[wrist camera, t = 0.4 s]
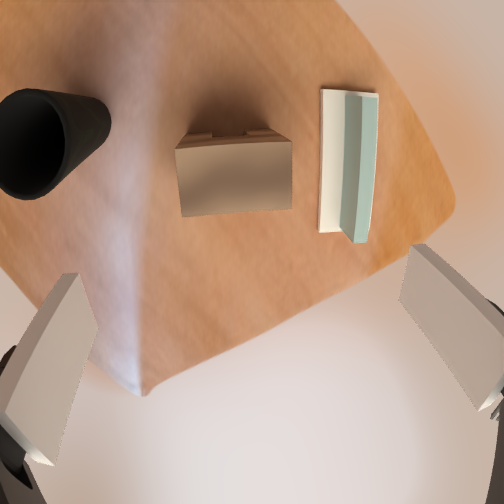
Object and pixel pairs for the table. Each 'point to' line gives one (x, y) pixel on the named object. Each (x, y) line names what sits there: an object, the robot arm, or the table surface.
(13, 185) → the cup
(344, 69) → the table surface
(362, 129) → the inverted t-shaped bar
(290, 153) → the brown notched block
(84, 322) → the robot arm
